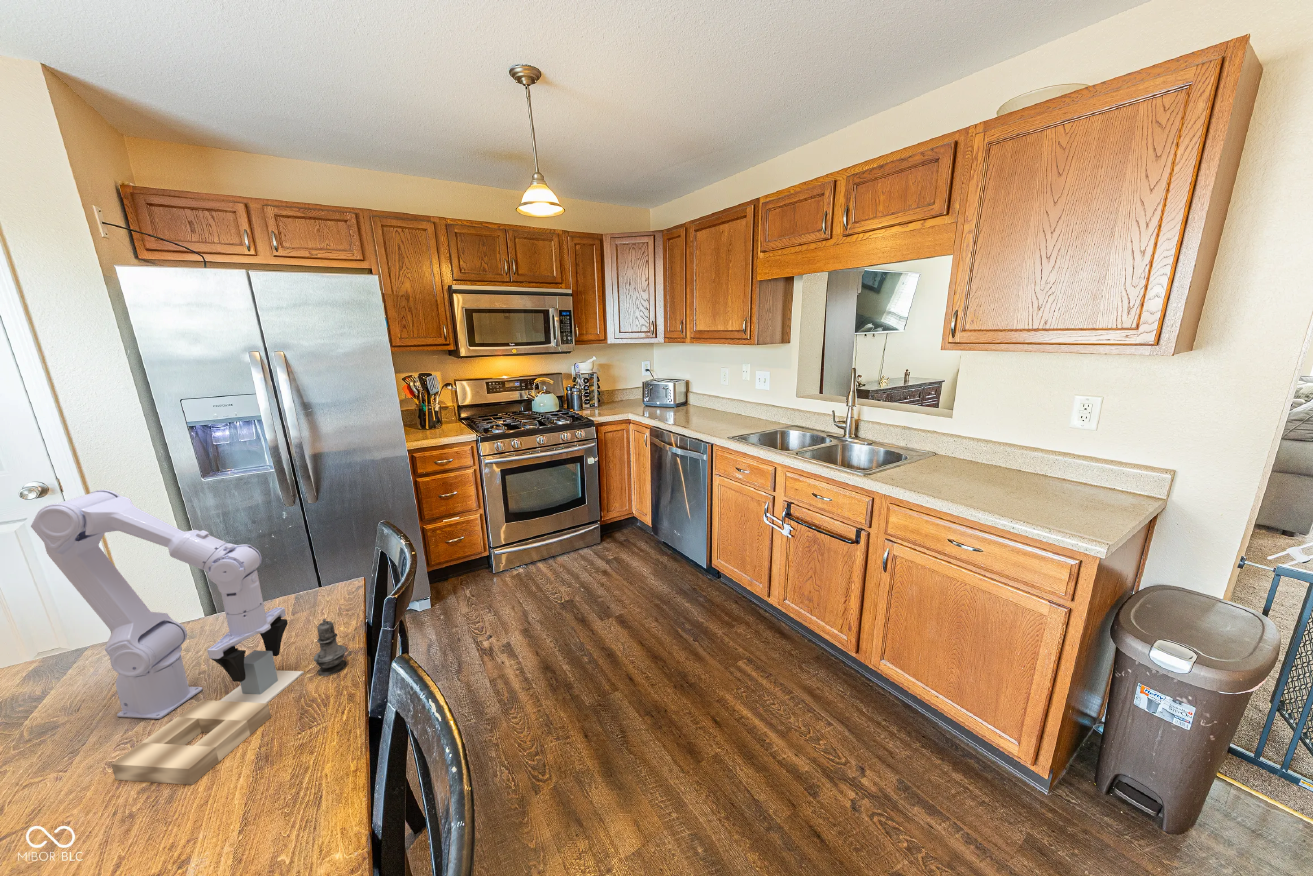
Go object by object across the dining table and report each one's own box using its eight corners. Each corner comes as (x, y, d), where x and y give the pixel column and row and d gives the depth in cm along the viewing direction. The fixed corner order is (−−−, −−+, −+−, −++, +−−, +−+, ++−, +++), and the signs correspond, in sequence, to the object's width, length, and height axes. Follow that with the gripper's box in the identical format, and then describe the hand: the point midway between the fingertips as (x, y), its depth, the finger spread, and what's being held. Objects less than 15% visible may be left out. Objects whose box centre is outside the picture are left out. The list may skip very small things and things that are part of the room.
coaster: (215, 705, 91) (214, 704, 91) (261, 671, 101) (261, 669, 101) (261, 708, 90) (261, 706, 90) (303, 673, 100) (303, 671, 100)
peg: (242, 693, 94) (235, 663, 93) (260, 679, 98) (254, 650, 96) (260, 694, 93) (254, 663, 92) (278, 680, 97) (272, 651, 96)
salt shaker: (331, 678, 98) (323, 627, 96) (309, 675, 99) (299, 625, 97) (354, 660, 104) (346, 612, 102) (333, 657, 105) (324, 609, 103)
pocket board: (115, 779, 76) (110, 764, 75) (204, 713, 89) (201, 700, 89) (192, 784, 74) (188, 769, 74) (270, 717, 88) (268, 703, 87)
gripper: (226, 629, 85) (240, 693, 87) (294, 589, 99) (304, 645, 101) (192, 628, 85) (207, 692, 88) (263, 588, 100) (275, 644, 102)
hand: (257, 667), depth 95 cm, fingers open, 7 cm apart
